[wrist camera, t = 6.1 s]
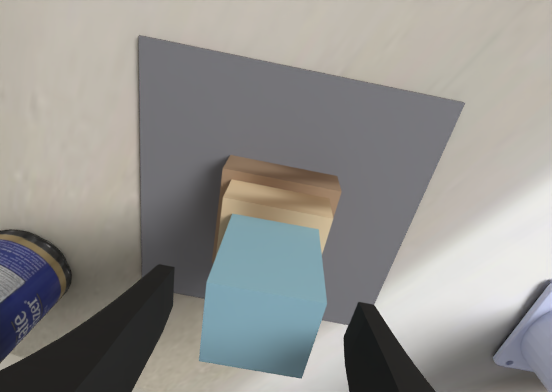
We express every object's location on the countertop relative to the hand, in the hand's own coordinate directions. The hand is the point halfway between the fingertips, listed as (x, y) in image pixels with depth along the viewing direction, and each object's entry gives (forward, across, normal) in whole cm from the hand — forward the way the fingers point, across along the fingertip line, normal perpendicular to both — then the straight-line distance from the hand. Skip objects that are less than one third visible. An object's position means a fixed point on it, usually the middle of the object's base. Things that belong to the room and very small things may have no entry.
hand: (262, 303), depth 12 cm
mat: (+8, 0, 0) cm, 8 cm away
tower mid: (+5, 0, 0) cm, 5 cm away
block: (+3, 0, 0) cm, 3 cm away
